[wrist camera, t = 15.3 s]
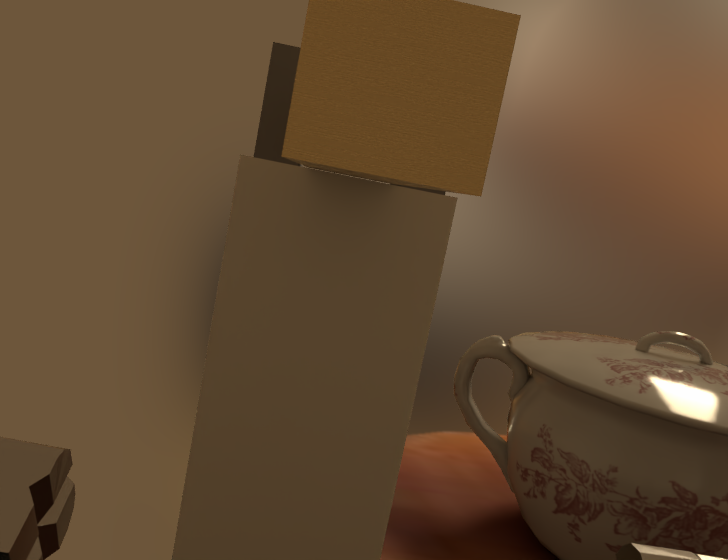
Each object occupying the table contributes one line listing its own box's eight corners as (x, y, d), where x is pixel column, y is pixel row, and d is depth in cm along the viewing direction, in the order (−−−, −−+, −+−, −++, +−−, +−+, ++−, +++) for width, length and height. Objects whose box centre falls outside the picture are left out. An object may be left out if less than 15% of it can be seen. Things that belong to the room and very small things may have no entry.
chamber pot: (860, 625, 58) (936, 389, 55) (661, 705, 43) (752, 387, 40) (594, 473, 81) (638, 302, 78) (406, 491, 66) (451, 280, 63)
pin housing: (342, 736, 36) (481, 86, 31) (146, 710, 35) (259, 39, 30) (337, 596, 47) (438, 110, 43) (191, 574, 47) (278, 77, 42)
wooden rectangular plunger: (481, 196, 14) (520, 15, 13) (281, 155, 13) (314, -31, 13) (387, 183, 34) (401, 112, 34) (308, 167, 34) (321, 95, 34)
